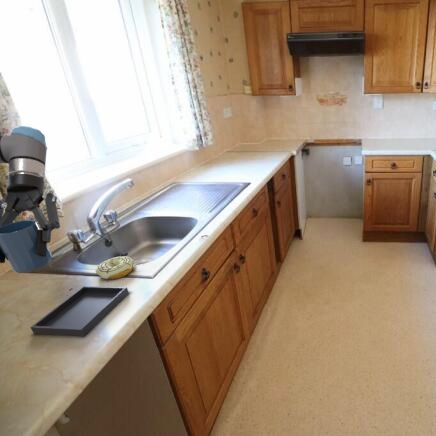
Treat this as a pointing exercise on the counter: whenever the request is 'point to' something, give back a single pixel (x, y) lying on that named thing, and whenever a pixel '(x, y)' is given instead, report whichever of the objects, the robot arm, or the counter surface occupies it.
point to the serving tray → (80, 311)
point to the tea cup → (22, 246)
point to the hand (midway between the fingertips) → (20, 258)
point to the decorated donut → (115, 267)
